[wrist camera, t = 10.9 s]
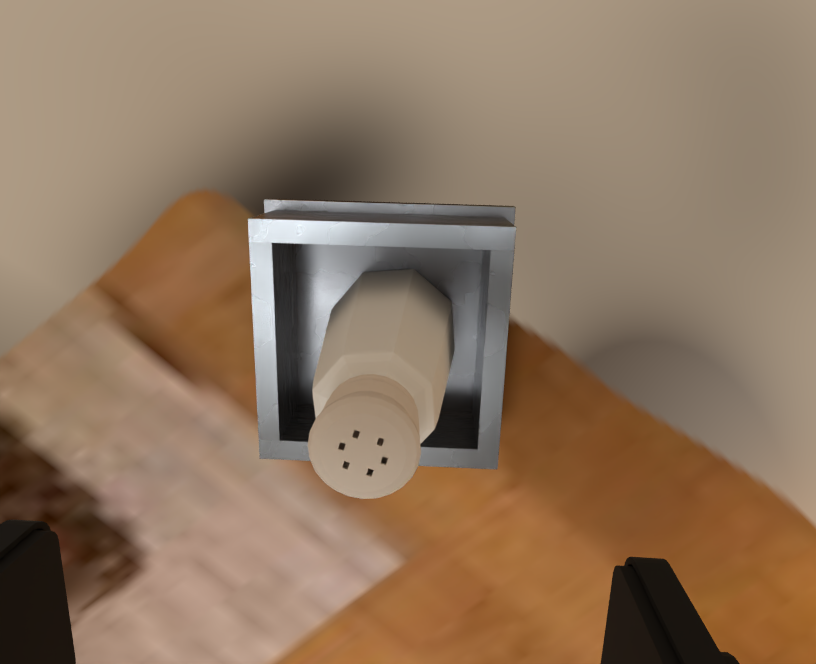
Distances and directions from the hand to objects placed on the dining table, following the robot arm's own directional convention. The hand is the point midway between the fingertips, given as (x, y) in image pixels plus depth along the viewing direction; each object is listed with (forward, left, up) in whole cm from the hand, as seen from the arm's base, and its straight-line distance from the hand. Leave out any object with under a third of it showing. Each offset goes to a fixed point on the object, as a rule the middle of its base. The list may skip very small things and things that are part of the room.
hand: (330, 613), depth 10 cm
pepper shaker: (0, 0, -16) cm, 16 cm away
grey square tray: (0, -1, -17) cm, 16 cm away
